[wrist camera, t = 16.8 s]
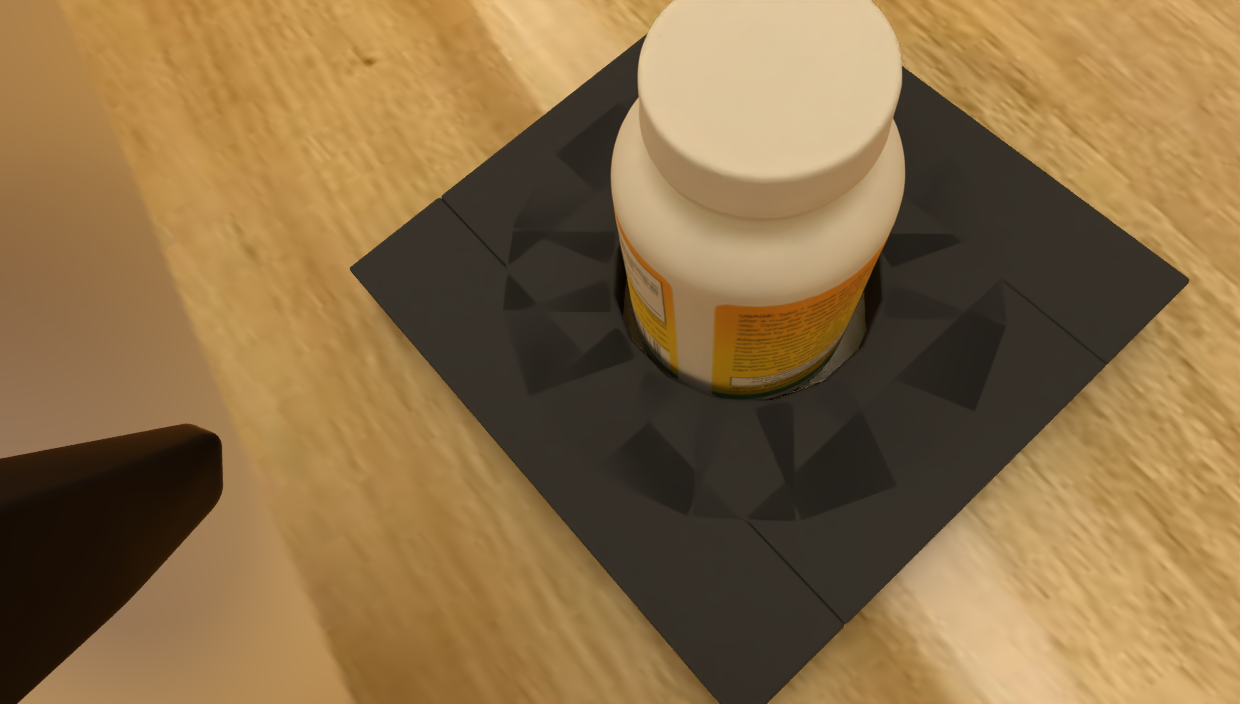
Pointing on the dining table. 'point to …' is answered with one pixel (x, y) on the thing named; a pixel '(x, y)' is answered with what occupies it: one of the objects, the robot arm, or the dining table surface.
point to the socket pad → (764, 429)
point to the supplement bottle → (757, 186)
